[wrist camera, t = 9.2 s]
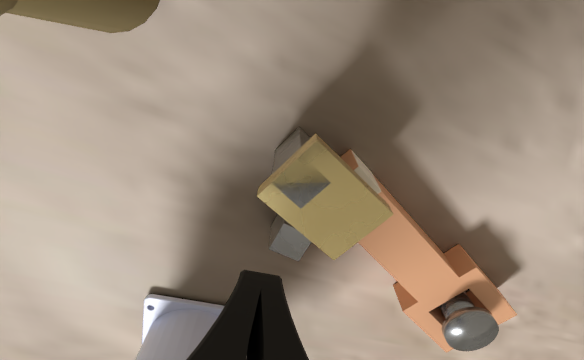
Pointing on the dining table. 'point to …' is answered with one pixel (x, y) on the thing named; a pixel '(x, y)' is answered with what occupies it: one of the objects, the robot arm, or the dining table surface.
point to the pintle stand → (345, 222)
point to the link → (425, 266)
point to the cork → (85, 12)
